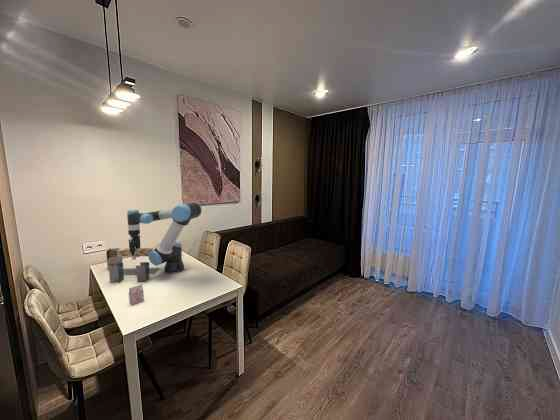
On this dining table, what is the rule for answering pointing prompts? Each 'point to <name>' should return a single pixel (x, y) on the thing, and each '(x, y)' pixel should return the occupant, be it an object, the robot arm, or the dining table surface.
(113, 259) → the coffee box
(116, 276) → the post
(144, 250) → the rail
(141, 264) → the post
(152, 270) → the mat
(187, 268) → the dining table surface
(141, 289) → the pink rectangular block
